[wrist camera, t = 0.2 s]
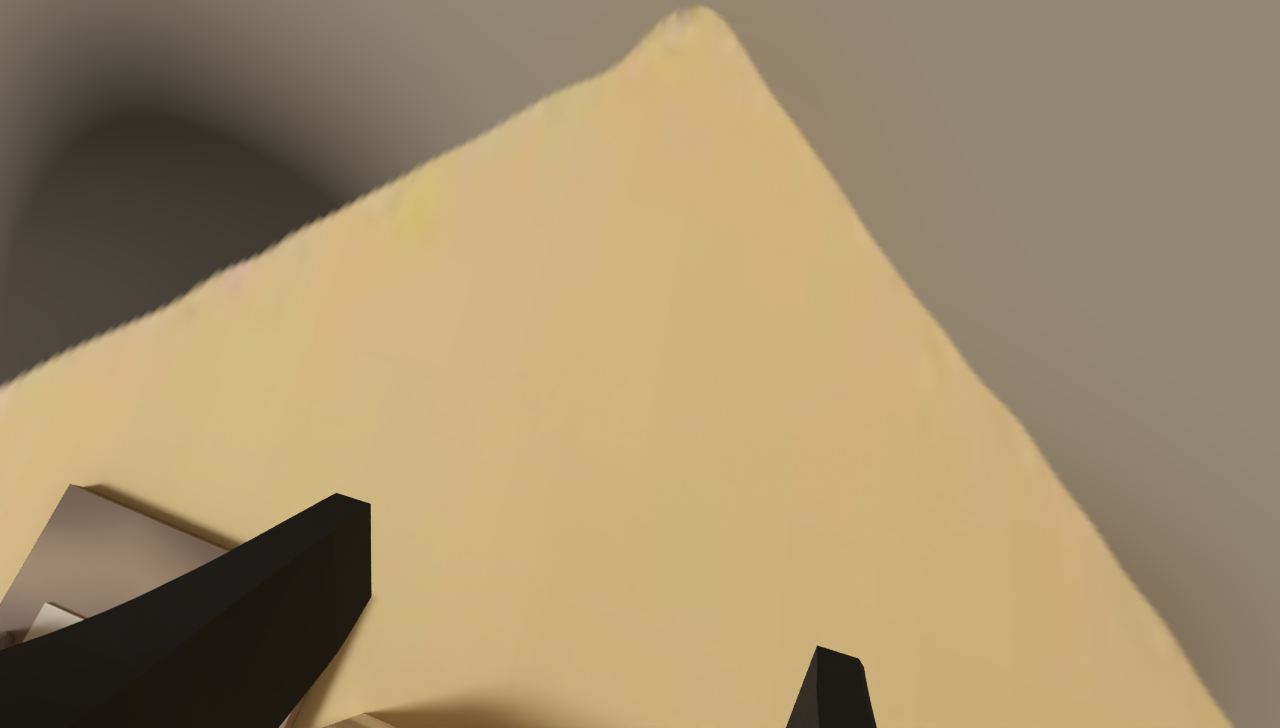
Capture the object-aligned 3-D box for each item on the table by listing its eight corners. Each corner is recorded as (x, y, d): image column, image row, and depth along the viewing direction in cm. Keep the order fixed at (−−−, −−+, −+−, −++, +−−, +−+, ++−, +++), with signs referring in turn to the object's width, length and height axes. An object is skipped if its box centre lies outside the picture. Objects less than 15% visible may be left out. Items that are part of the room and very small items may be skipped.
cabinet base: (192, 938, 38) (126, 984, 34) (-96, 796, 40) (-197, 821, 36) (350, 601, 43) (312, 599, 38) (82, 486, 44) (13, 471, 40)
